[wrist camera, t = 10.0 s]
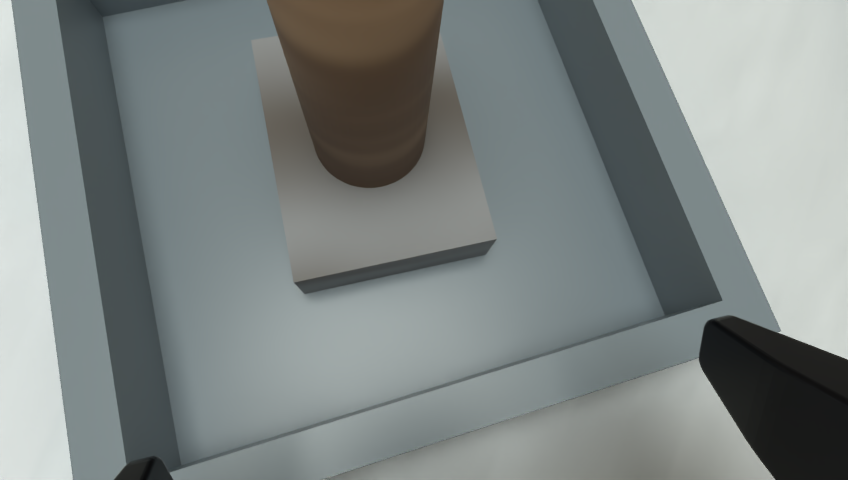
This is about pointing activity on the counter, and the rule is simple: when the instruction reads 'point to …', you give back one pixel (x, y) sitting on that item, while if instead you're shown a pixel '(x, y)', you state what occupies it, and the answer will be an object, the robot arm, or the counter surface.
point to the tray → (373, 299)
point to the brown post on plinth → (368, 141)
